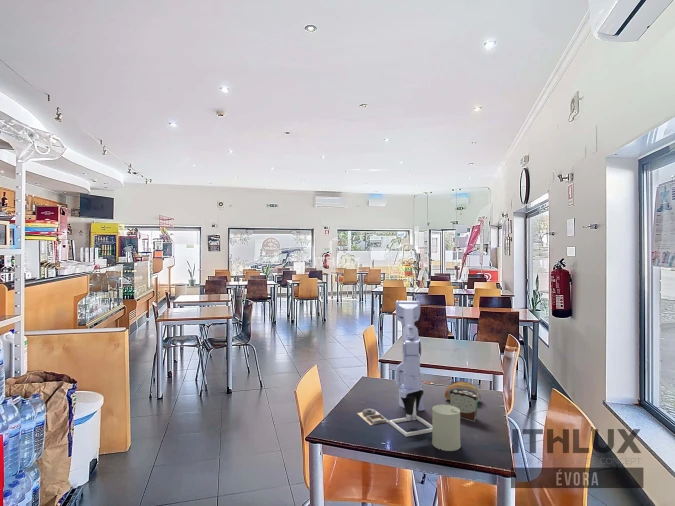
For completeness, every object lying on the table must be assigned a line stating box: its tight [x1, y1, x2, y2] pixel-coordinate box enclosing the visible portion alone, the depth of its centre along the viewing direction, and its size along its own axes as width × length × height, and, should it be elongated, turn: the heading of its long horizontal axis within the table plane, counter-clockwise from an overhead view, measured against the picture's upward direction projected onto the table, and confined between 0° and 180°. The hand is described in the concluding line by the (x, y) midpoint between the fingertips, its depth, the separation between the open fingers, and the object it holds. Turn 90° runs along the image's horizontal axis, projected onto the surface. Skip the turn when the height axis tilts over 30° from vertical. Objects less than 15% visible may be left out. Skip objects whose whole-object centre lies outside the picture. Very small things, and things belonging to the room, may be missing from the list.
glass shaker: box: [405, 399, 417, 421], centre depth 144 cm, size 4×4×7 cm
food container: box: [448, 388, 481, 423], centre depth 158 cm, size 12×6×10 cm, turn 47°
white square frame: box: [388, 415, 432, 437], centre depth 144 cm, size 12×12×2 cm
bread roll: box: [444, 380, 482, 401], centre depth 175 cm, size 10×15×8 cm, turn 81°
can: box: [431, 404, 462, 452], centre depth 134 cm, size 9×9×12 cm
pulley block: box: [356, 408, 390, 426], centre depth 153 cm, size 8×12×3 cm, turn 21°
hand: (411, 412), depth 144 cm, fingers closed on glass shaker, 4 cm apart
